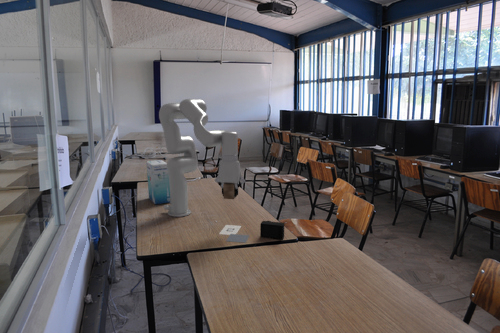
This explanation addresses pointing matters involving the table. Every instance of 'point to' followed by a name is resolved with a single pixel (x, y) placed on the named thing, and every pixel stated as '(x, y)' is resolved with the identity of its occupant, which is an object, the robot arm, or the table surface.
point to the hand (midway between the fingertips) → (230, 195)
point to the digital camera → (272, 230)
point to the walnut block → (228, 190)
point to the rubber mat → (237, 238)
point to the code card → (230, 229)
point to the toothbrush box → (158, 182)
